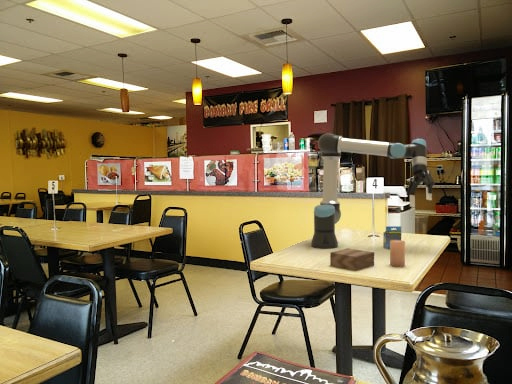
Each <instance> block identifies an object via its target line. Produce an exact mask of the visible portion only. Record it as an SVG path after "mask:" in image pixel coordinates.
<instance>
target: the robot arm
mask: <svg viewBox="0 0 512 384" xmlns="http://www.w3.org/2000/svg"><path fill="white" fill-rule="evenodd" d="M317 146H318V147H317V148H318V149H319V150H320V151H321V153H320V156H321V159H322V160H323V173H322V174H323V175H322V176H323V177H322V181H323V182H322V200H321V201H320V203H319V204H318V205H315V206H314V207H313V208H314V209H313V224H314V225H313V230H314V231H313V236H312V239H311V242H310V246H311V247H312V248H317V249H335V248H338V246H339V242H338V239H337V235H336V230H335V229H336V224H337V223H338V222H339V221H340V220H341V216H342V212H341V209H340V208H341V203H340V201H339V200H338V192H339V191H338V186H339V184H338V182H339V160H340V159H341V157H342V152H343V153H353V154H354V153H355V154H360V155H361V154H362V155H373V156H378V157H379V156H383V157H389V159H391V160H392V159H393V160H396V159H406V158H411V166H412V167H411V171H412V174H413V177H410V178H409V183H408V184H409V185H408V188H407V191H406V196H408V199H409V200H408V201H409V207H411V208H415V207H416V198H415V197H416V196H415V193H416V191H417V189H418V186H420V184H421V183H423V184H424V185H425V186H426V187H425V194H426V195H425V196H426V198H425V199H426V200H427V201H432V200H433V197H432V196H433V194H432V193H433V186H435V185H436V183H435V181H434V179H433V176H432V175H431V171H430V170H428V160H427V157H428V156H427V154H428V152H427V151H428V149H427V141H426V139H424V138H416V139H413V140H412V141H411V143H409V144H408V143H407V144H403V143H400V142H387V141H378V140H368V139H357V138H347V137H343V135H338V134H337V135H336V134H334V133H330V132H329V133H328V132H327V133H324V134H321V135H320V137H319V139H318V140H317Z"/></svg>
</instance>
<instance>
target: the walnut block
mask: <svg viewBox="0 0 512 384" xmlns="http://www.w3.org/2000/svg"><path fill="white" fill-rule="evenodd" d="M329 258H330V259H329V261H330V263H329V265H330V266H331V267H335V268H340V269H347V270H351V271H355V272H357V271H360V270H364V269H367V268H370V267H374V266H375V252H374V251H369V250H367V251H366V250H361V249H354V248H343V249H340V250H336V251H331V252H330V255H329Z"/></svg>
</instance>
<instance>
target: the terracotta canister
mask: <svg viewBox="0 0 512 384" xmlns="http://www.w3.org/2000/svg"><path fill="white" fill-rule="evenodd" d="M389 266H391V267H394V268H395V267H396V268H399V267H400V268H402V267H406V241H405V240H402V239H401V240H391V241H390V248H389Z"/></svg>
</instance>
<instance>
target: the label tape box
mask: <svg viewBox="0 0 512 384" xmlns="http://www.w3.org/2000/svg"><path fill="white" fill-rule="evenodd" d="M391 240H402V226H400V225H399V226H396V225H395V226H394V225H393V226H390V225H389V226H385V231H384V232H383V248H385V249H390V241H391Z"/></svg>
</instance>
